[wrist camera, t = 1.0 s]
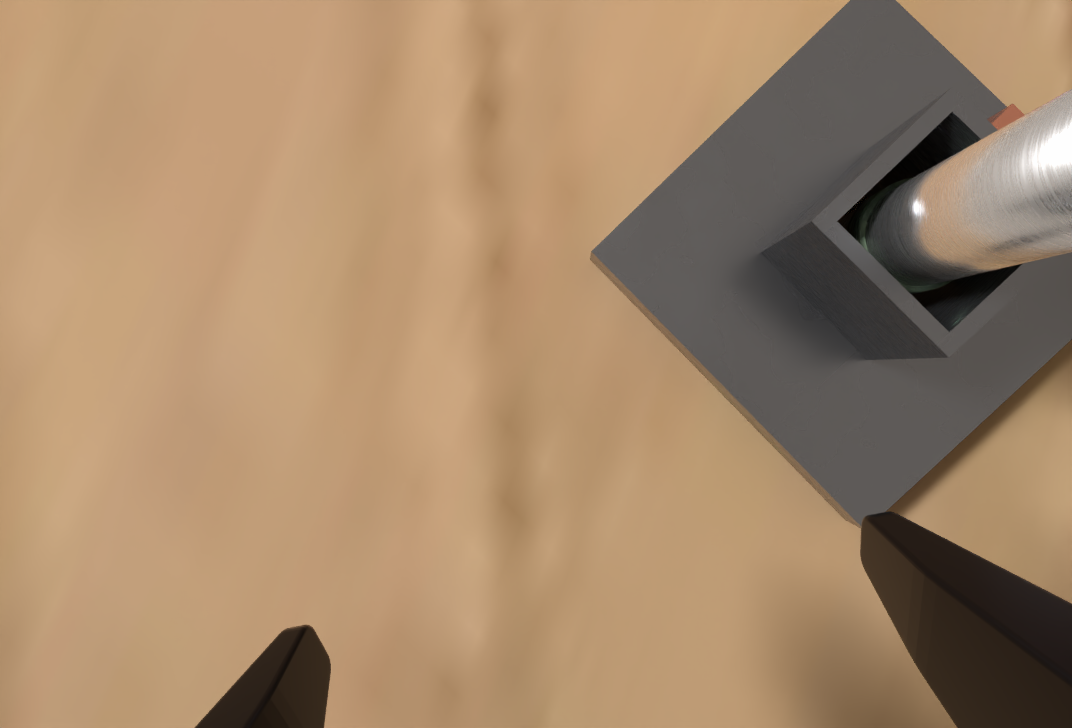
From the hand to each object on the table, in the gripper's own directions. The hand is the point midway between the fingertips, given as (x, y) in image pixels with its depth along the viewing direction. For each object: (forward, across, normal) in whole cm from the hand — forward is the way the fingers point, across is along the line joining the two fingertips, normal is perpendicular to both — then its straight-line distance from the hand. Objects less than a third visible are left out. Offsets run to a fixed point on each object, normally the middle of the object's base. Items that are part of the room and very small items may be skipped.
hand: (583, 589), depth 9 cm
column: (+14, -12, +1) cm, 19 cm away
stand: (+14, -12, +1) cm, 19 cm away
